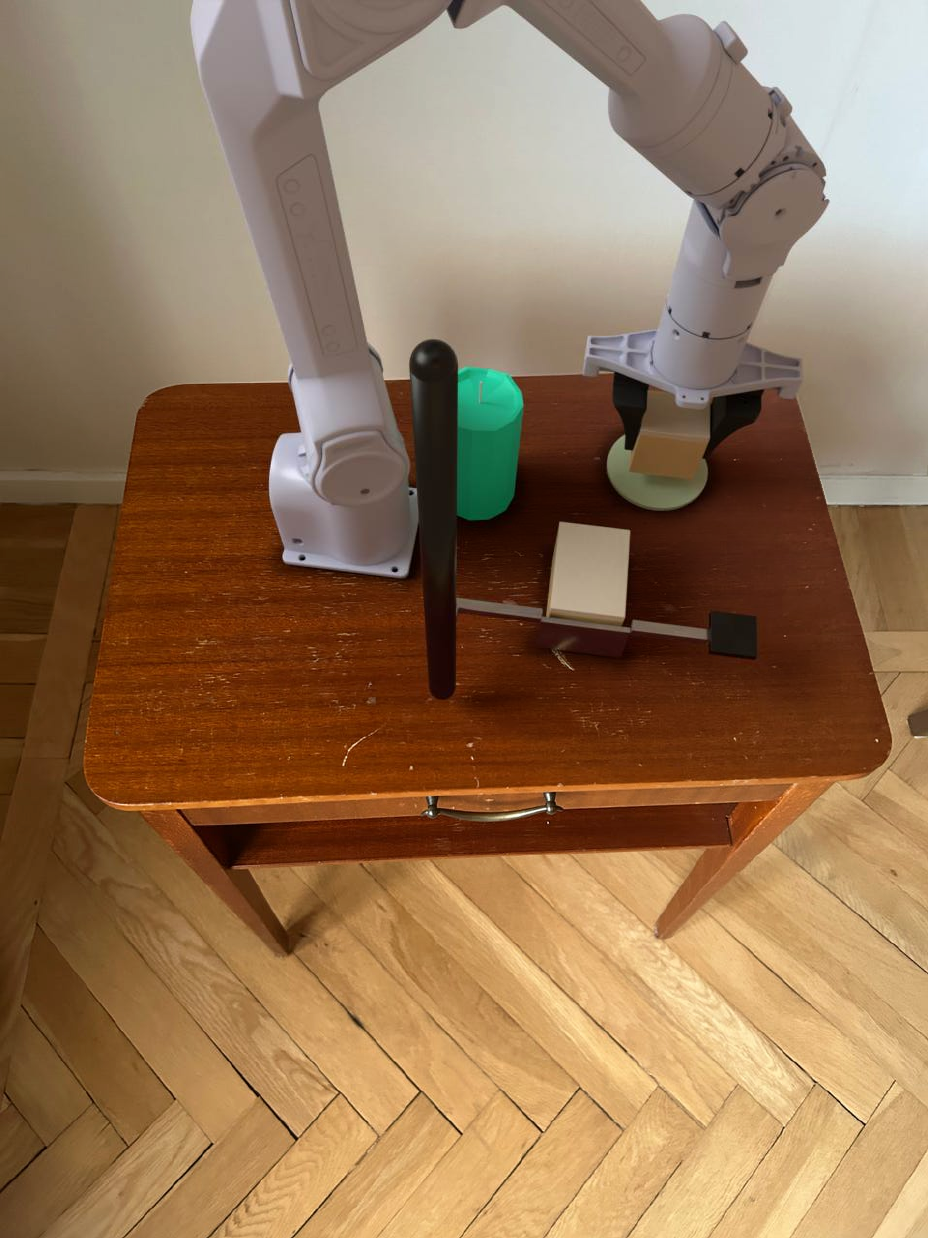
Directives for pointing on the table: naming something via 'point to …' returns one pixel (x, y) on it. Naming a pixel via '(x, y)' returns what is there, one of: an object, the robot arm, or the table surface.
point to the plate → (652, 483)
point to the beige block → (670, 438)
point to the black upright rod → (438, 544)
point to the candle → (487, 442)
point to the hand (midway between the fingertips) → (665, 444)
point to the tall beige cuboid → (589, 574)
